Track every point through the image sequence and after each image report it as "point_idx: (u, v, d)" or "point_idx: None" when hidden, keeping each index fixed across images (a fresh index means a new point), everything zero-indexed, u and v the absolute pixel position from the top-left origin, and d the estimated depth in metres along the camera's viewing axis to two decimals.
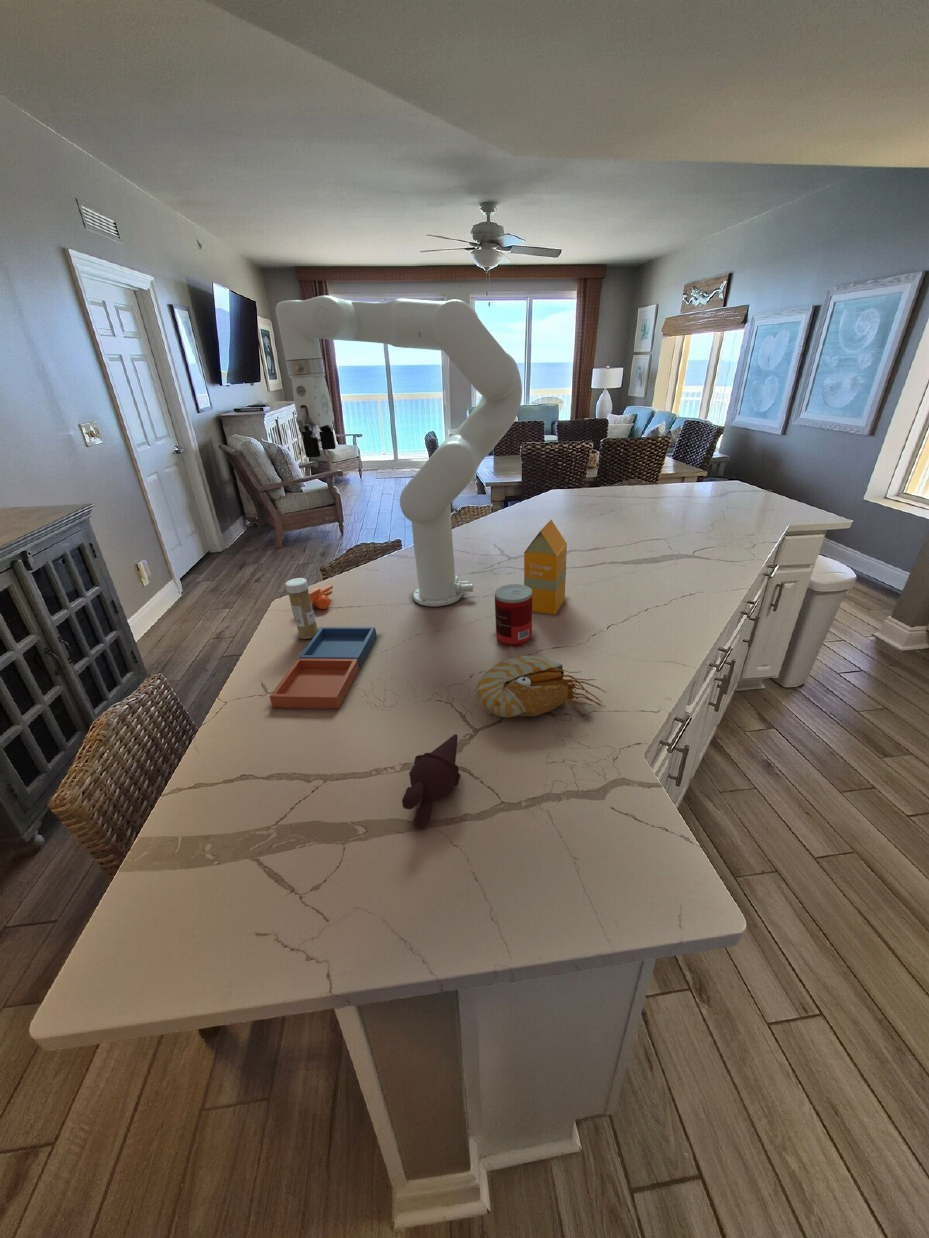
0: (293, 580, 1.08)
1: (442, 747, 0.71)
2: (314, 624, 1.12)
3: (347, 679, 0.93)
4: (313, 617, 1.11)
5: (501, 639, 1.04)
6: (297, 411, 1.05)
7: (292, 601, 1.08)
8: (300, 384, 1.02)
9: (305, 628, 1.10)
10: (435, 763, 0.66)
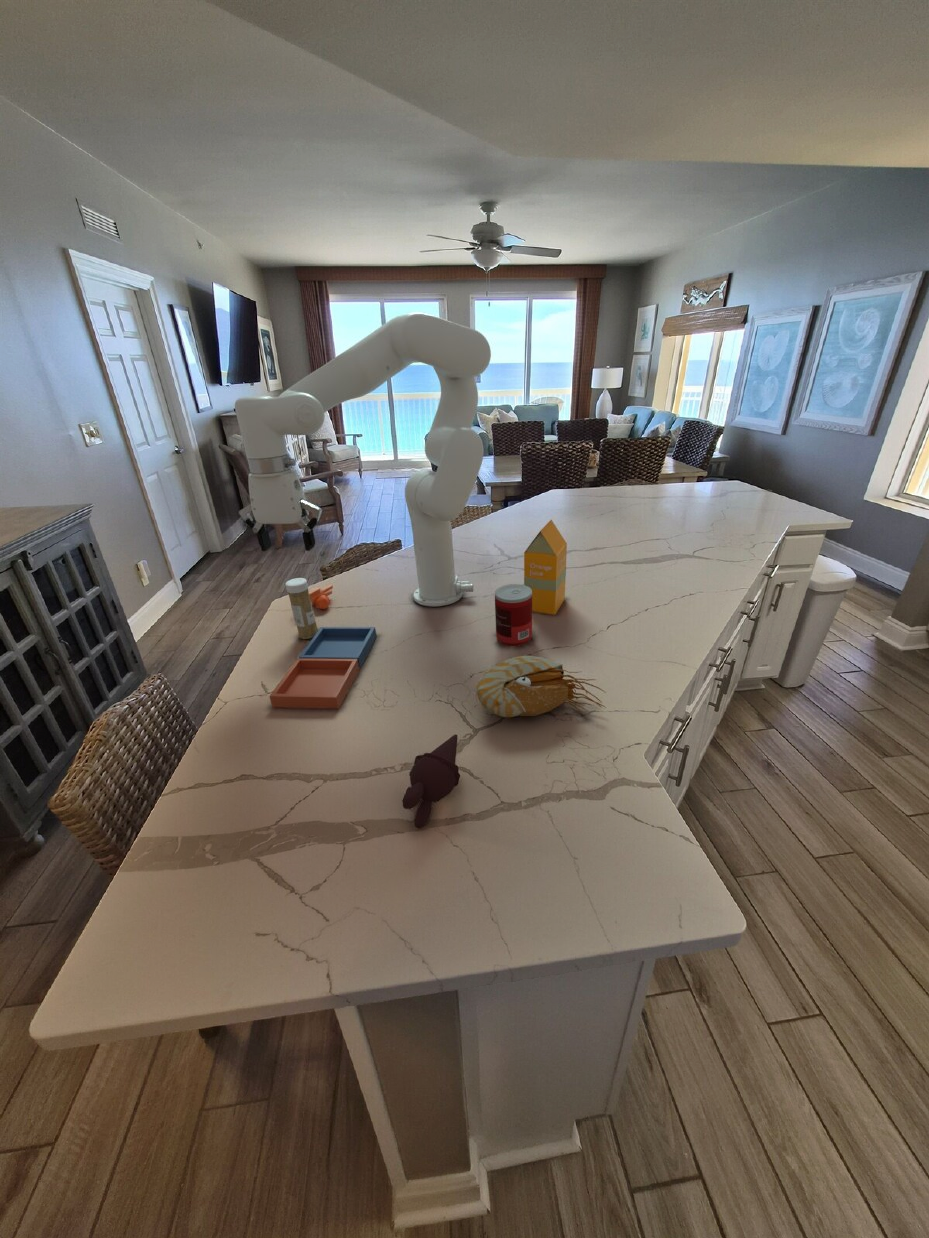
0: (293, 580, 1.08)
1: (442, 747, 0.71)
2: (314, 624, 1.12)
3: (347, 679, 0.93)
4: (313, 617, 1.11)
5: (501, 639, 1.04)
6: (298, 506, 0.98)
7: (292, 601, 1.08)
8: (295, 478, 0.97)
9: (305, 628, 1.10)
10: (435, 763, 0.66)
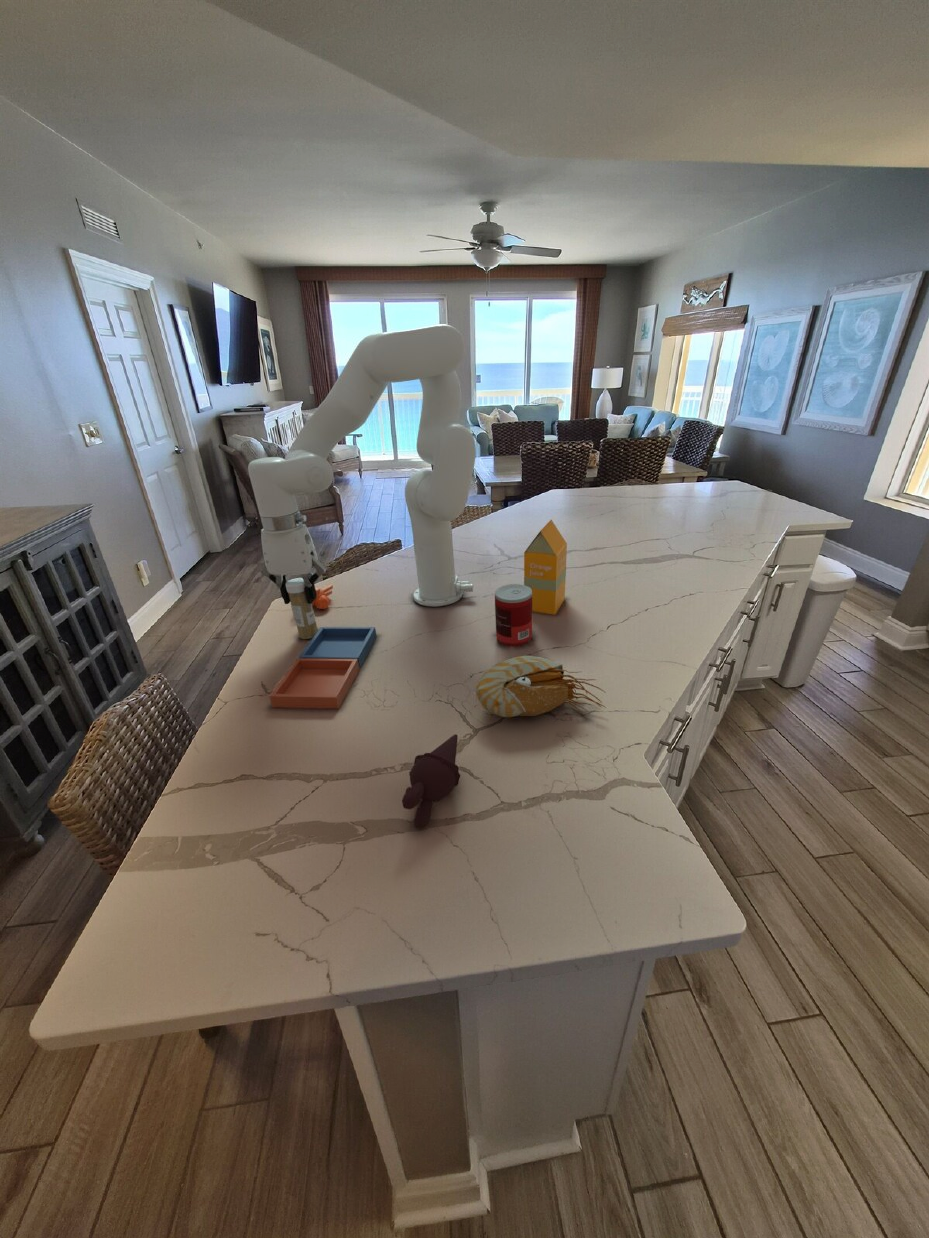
0: (293, 580, 1.08)
1: (442, 747, 0.71)
2: (314, 624, 1.12)
3: (347, 679, 0.93)
4: (313, 617, 1.11)
5: (501, 639, 1.04)
6: (309, 559, 1.03)
7: (292, 601, 1.08)
8: (305, 533, 1.02)
9: (305, 628, 1.10)
10: (435, 763, 0.66)
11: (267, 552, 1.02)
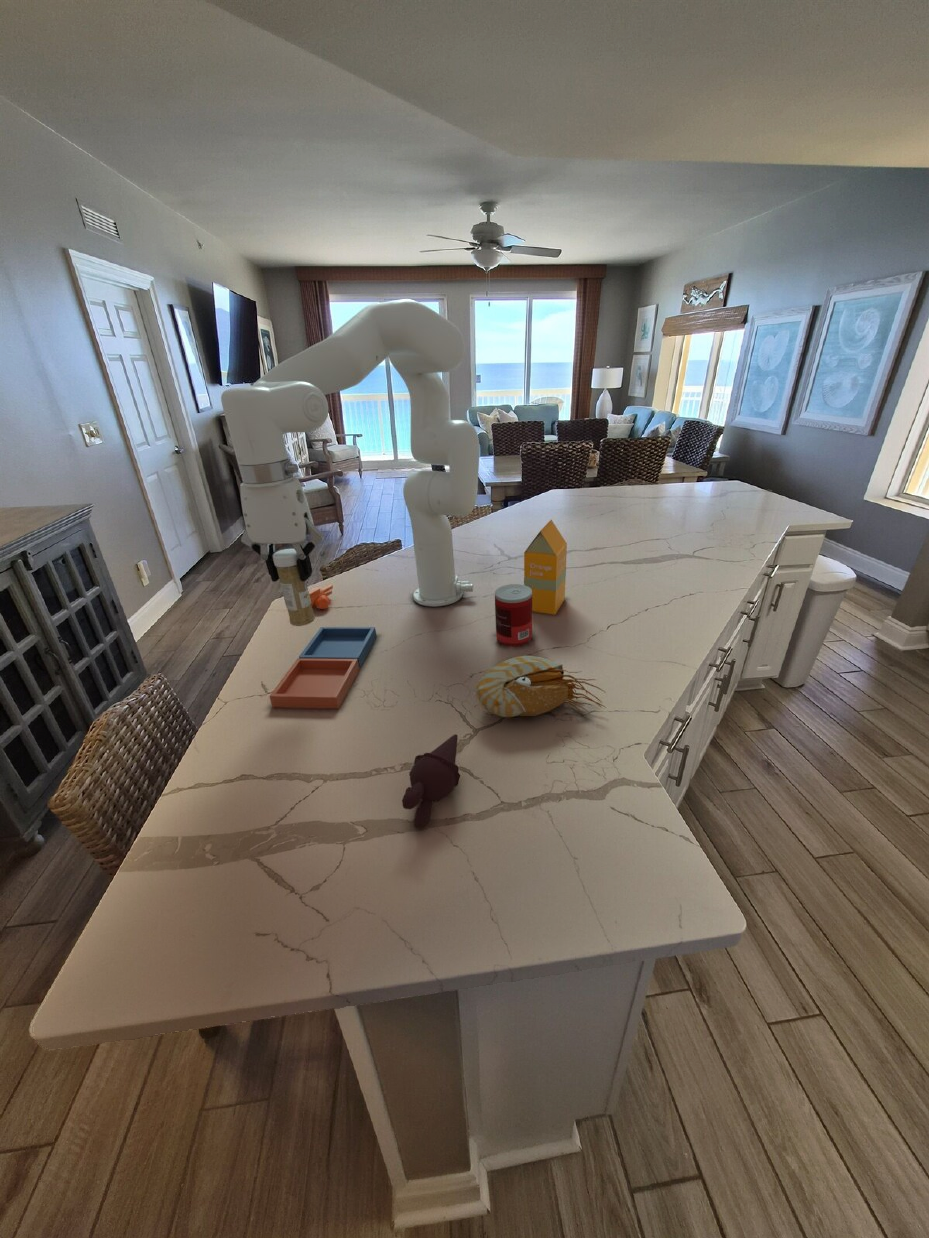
0: (283, 551, 0.85)
1: (442, 747, 0.71)
2: (309, 607, 0.89)
3: (347, 679, 0.93)
4: (308, 599, 0.88)
5: (501, 639, 1.04)
6: (302, 522, 0.80)
7: (281, 577, 0.85)
8: (298, 488, 0.79)
9: (298, 613, 0.88)
10: (435, 763, 0.66)
11: (248, 513, 0.80)
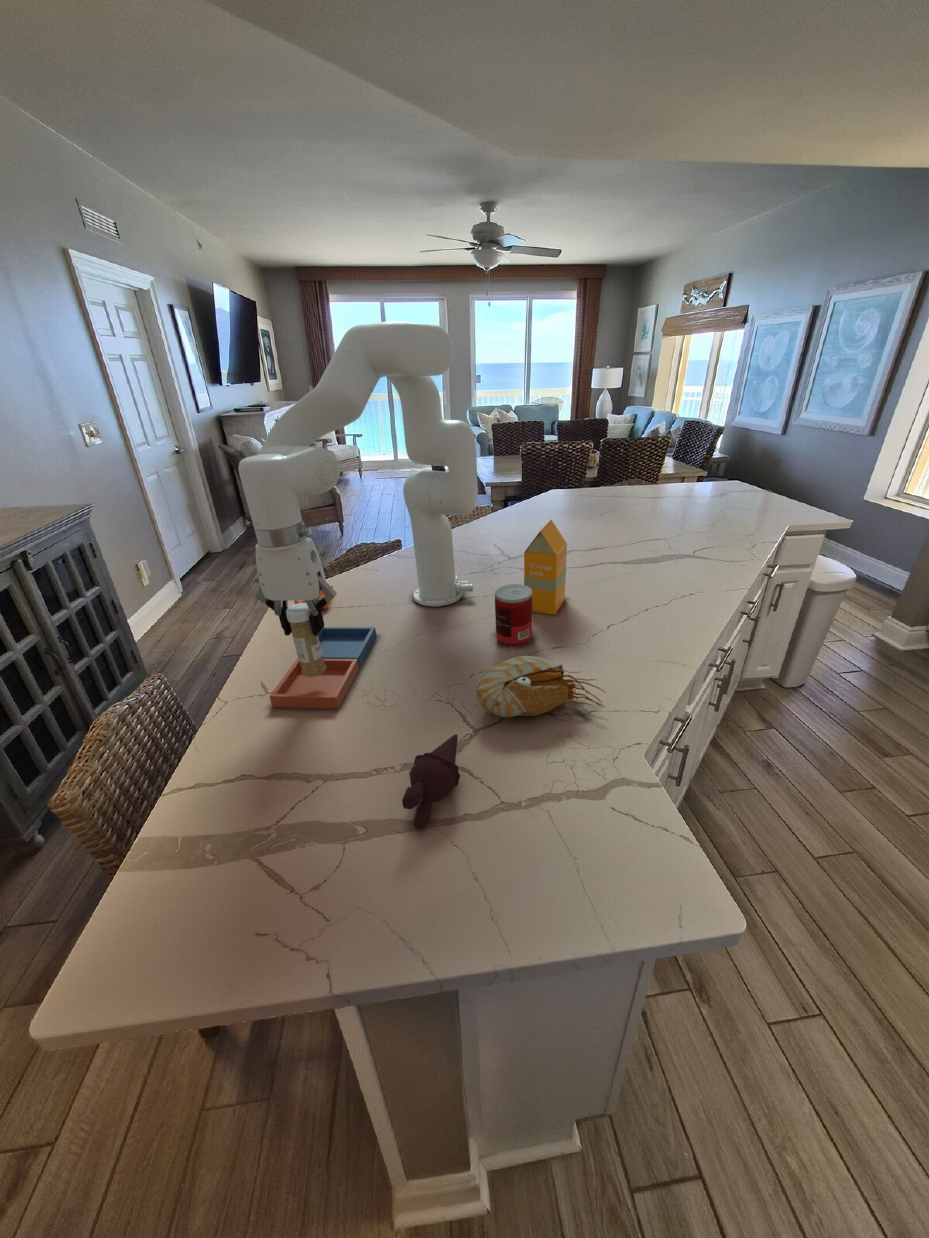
0: (295, 606, 0.87)
1: (442, 747, 0.71)
2: (321, 659, 0.91)
3: (347, 679, 0.93)
4: (320, 651, 0.91)
5: (501, 639, 1.04)
6: (315, 581, 0.82)
7: (294, 632, 0.87)
8: (311, 549, 0.81)
9: (310, 665, 0.90)
10: (435, 763, 0.66)
11: (263, 573, 0.82)
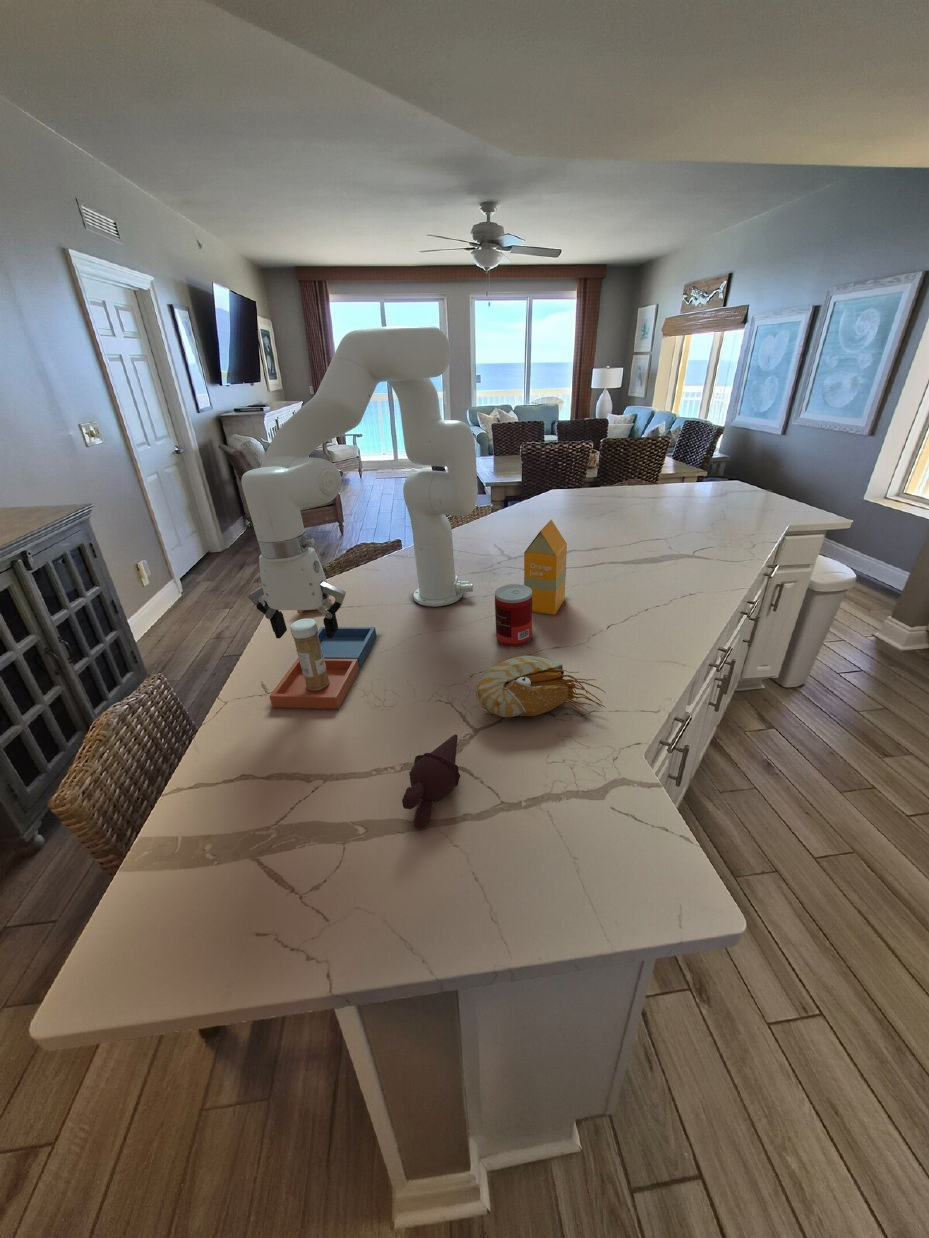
0: (300, 622, 0.89)
1: (442, 747, 0.71)
2: (324, 673, 0.93)
3: (347, 679, 0.93)
4: (323, 665, 0.92)
5: (501, 639, 1.04)
6: (318, 591, 0.83)
7: (298, 647, 0.89)
8: (314, 559, 0.82)
9: (313, 679, 0.91)
10: (435, 763, 0.66)
11: (267, 583, 0.83)
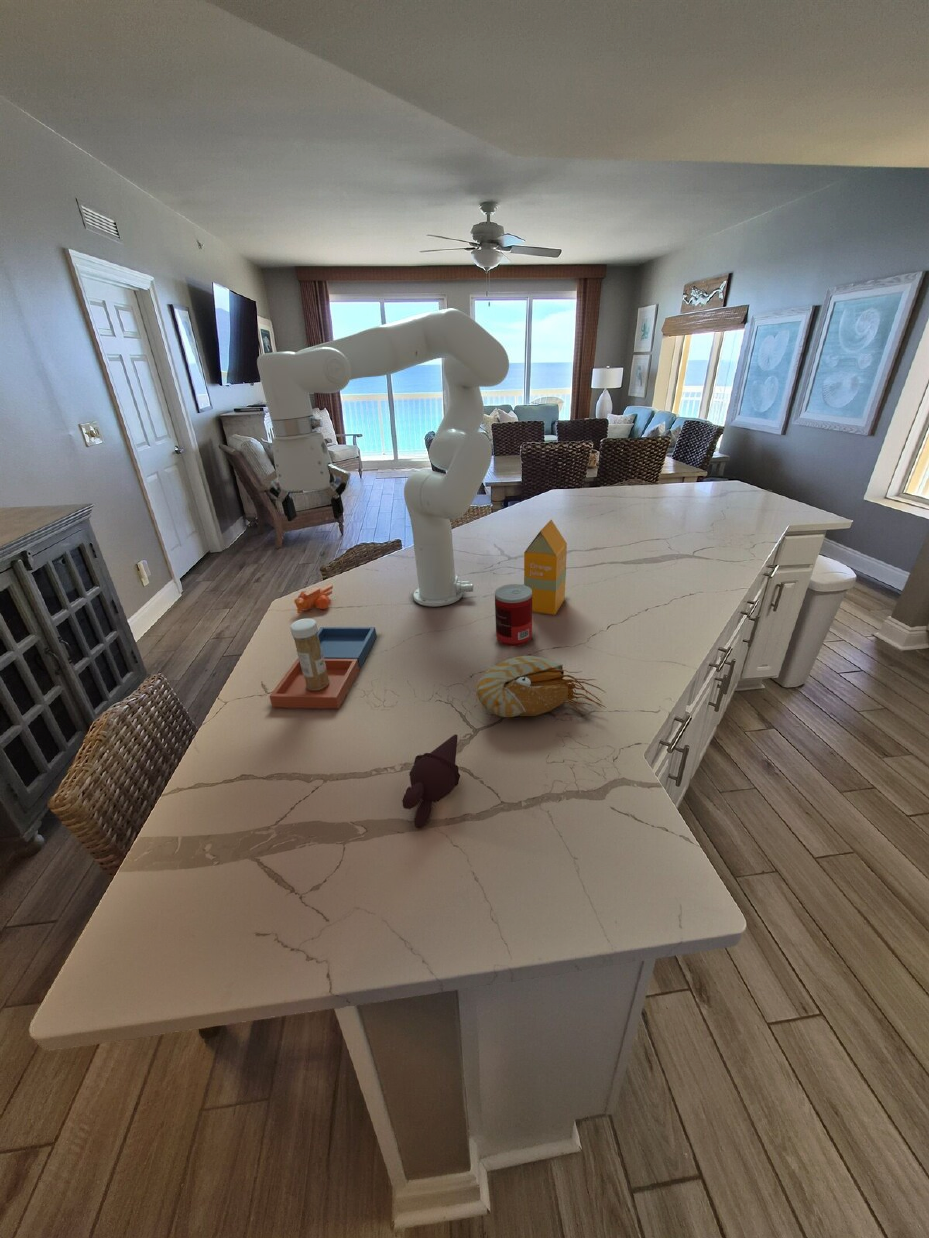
0: (300, 622, 0.89)
1: (442, 747, 0.71)
2: (324, 673, 0.93)
3: (347, 679, 0.93)
4: (323, 665, 0.92)
5: (501, 639, 1.04)
6: (326, 470, 0.93)
7: (298, 647, 0.89)
8: (322, 441, 0.92)
9: (313, 679, 0.91)
10: (435, 763, 0.66)
11: (280, 464, 0.92)
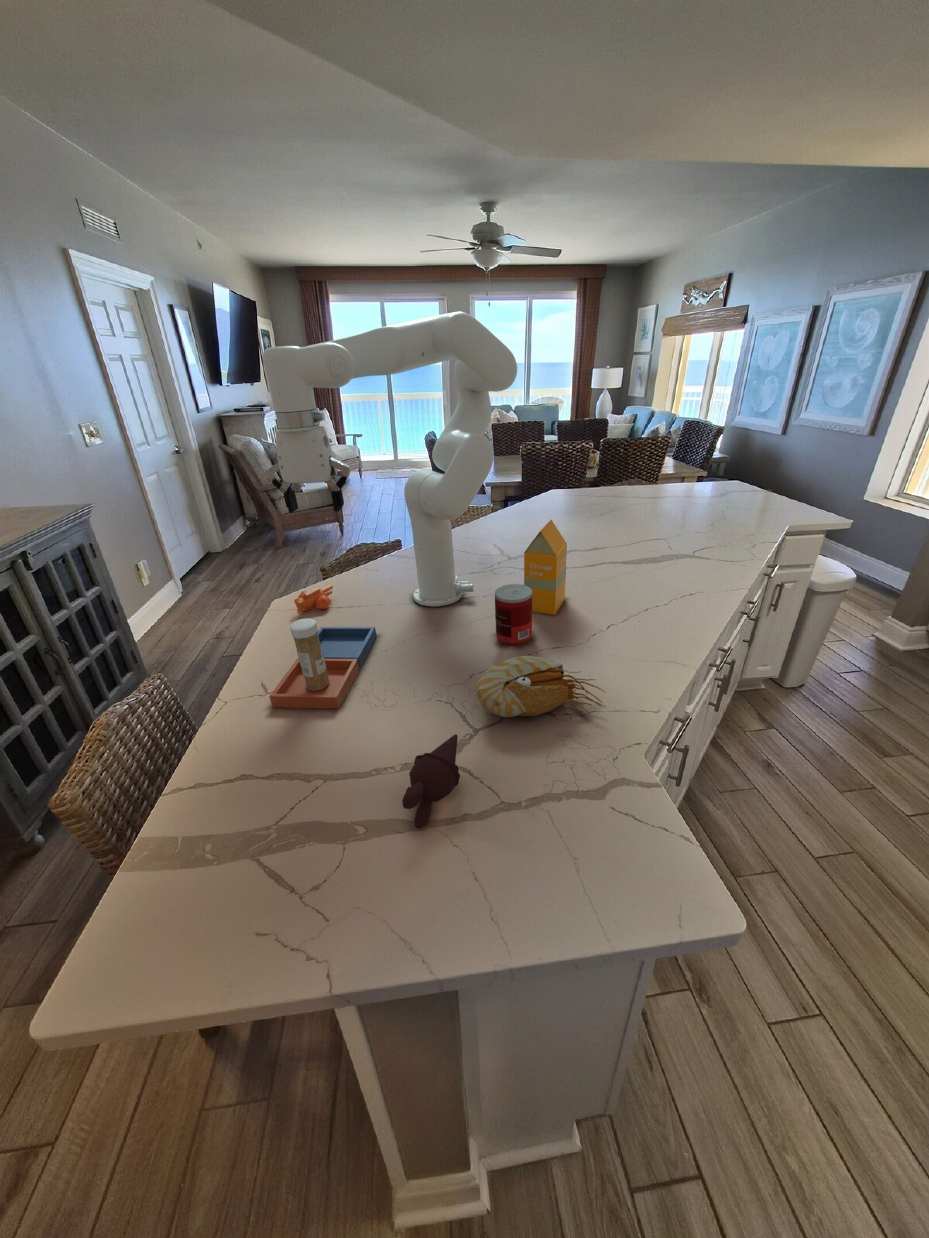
0: (300, 622, 0.89)
1: (442, 747, 0.71)
2: (324, 673, 0.93)
3: (347, 679, 0.93)
4: (323, 665, 0.92)
5: (501, 639, 1.04)
6: (327, 463, 0.95)
7: (298, 647, 0.89)
8: (324, 434, 0.94)
9: (313, 679, 0.91)
10: (435, 763, 0.66)
11: (282, 456, 0.94)
